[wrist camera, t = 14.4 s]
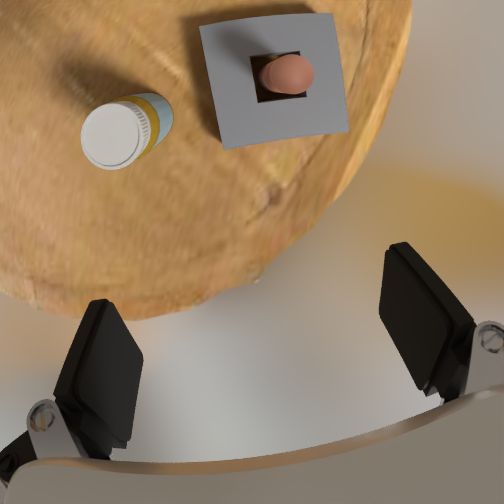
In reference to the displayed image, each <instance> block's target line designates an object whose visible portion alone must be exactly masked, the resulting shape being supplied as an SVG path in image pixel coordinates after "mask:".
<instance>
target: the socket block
mask: <svg viewBox="0 0 504 504" xmlns="http://www.w3.org/2000/svg"><path fill="white" fill-rule="evenodd" d="M199 30H200V35H201V40H202V45H203V50H204V55H205V60H206V65H207V70H208V75H209V80H210V85H211V90H212V95H213V100H214V105H215V110H216V115H217V120H218V125H219V130H220V135H221V140H222V144H223V149H224V150H227V149H232V148H238V147H243V146H248V145H254V144H260V143H266V142H272V141H278V140H285V139H292V138H299V137H307V136H315V135H323V134H332V133H342V132H349V126H348V115H347V105H346V96H345V88H344V80H343V72H342V65H341V58H340V52H339V45H338V39H337V34H336V28H335V23H334V17H333V13H306V14H285V15H271V16H261V17H252V18H244V19H237V20H231V21H225V22H219V23H213V24H208V25H203V26H199ZM285 54H295V55H299V56H301V57H303V58H305V59H306V60H307V61H308V62H309V63H310V64H311V66H312V68H313V71H314V79H313V82H312V84H311V86H310V87H309V88H308V89H307V90H306V91H304V92H302V93H299V96H293V97H285V98H277V99H269V100H263V101H257V96H256V90H255V85H254V79H253V73H252V68H251V62H250V59H251V58H259V57H266V56H275V55H285Z"/></svg>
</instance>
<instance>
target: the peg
mask: <svg viewBox="0 0 504 504" xmlns="http://www.w3.org/2000/svg"><path fill="white" fill-rule="evenodd" d="M257 78H258V82H259V84H260V86H261V87H262V88H264V89H265V90H267V91H271V92H280V93H287V94H299V93H302V92H304V91H306V90H307V89H308V88H309V87H310V86H311V84H312V82H313V79H314V71H313V68H312V66H311V64H310V63H309V62H308V61H307V60H306V59H305V58H303V57H301V56H299V55H295V54H289V55H285V56H282V57H280V58H278V59H276V60H274V61H272V62H270V63H268V64H266V65H264V66H262V67H261V68H260V70H259V72H258V75H257Z"/></svg>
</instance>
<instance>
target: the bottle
mask: <svg viewBox="0 0 504 504" xmlns="http://www.w3.org/2000/svg"><path fill="white" fill-rule="evenodd" d="M172 124H173V110H172V107H171V105H170V104H169V102H168V101H167V100H166V99H165V98H164V97H162V96H161V95H158V94H154V93H142V94H135V95H128V96H122V97H119V98H116V99H114V100H112V101H110V102H109V103H107V104H104V105H102V106H99V107H98V108H96V109H95V110H93V112H91V113H90V115H89V116H88V117H87V118H86V120H85V122H84V124H83V127H82V131H81V145H82V148H83V151H84V153H85V155H86V157H87V158H88V159H89V160H90V161H91V162H92V163H93V164H94V165H96V166H98V167H100V168H103V169H108V170H115V169H119V168H122V167H125V166H127V165H128V164H130V163H131V162H132V161H134V160H136V159H139V158H141V157H143V156H144V155H145V154H147V153H148V152H149V151H150V150H151V149H152V148H154V147H155V146H156V145H157V144H158V143H159V142H160V141H161V140H162V139H163V138H164V137H165V136H166V135H167V134H168V132H169V131H170V129H171V127H172Z"/></svg>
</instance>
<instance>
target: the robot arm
mask: <svg viewBox="0 0 504 504" xmlns="http://www.w3.org/2000/svg"><path fill="white" fill-rule="evenodd" d="M379 315H380V318H381V320H382V322H383V323H384V325H385V327H386V329H387V331H388V333H389V334H390V336H391V338H392V340H393V342H394V344H395V346H396V347H397V349H398V351H399V353H400V355H401V357H402V359H403V361H404V363H405V365H406V367H407V368H408V370H409V372H410V374H411V376H412V378H413V380H414V382H415V384H416V386H417V388H418V389H419V390H423V392H424V393H425V396H426V397H427V396H430V395H432V394H434V393H436V392H439V395H440V397H441V402H440V405H439V406H438V407H436V408H434V409H431V410H429V411H426V412H424V413H422V414H419V415H416V416H414V417H411V418H408V419H406V420H403V421H400V422H397V423H395V424H392V425H389V426H386V427H383V428H380V429H378V430H374V431H371V432H368V433H364V434H361V435H358V436H355V437H351V438H347V439H343V440H340V441H336V442H332V443H328V444H324V445H319V446H315V447H310V448H305V449H301V450H296V451H291V452H285V453H279V454H273V455H266V456H259V457H252V458H243V459H234V460H223V461H210V462H186V463H149V462H128V461H127V462H126V461H116V460H115V458H114V456H113V455H112V453H111V451H112V447H113V448H122V449H126V446H127V441H129V440H130V439H131V434H132V427H133V420H134V413H135V406H136V400H137V394H138V388H139V382H140V377H141V372H142V366H143V354H142V352H141V350H140V349H139V347H138V345H137V344H136V342H135V341H134V339H133V337H132V336H131V334H130V332H129V330H128V329H127V327H126V325H125V324H124V322H123V320H122V318H121V316H120V315H119V313H118V311H117V309H116V307H115V305H114V304H113V303H112V302H109V301H108V300H107V299H99V300H93V301H91V302H90V303H89V305H88V307H87V310H86V312H85V314H84V316H83V319H82V321H81V323H80V325H79V328H78V330H77V332H76V335H75V337H74V340H73V342H72V345H71V347H70V349H69V352H68V354H67V357H66V360H65V362H64V365H63V368H62V370H61V373H60V375H59V378H58V381H57V384H56V387H55V390H54V393H53V395H54V396H55V397H56V399H55V402H54V401H52V400H49V399H44V400H41V401H39V402H37V403H36V404H35V405H34V406H33V407H32V408H31V409H30V411H29V413H28V416H27V428H28V430H27V431H26V432H25V433H23V434H22V435H21V436H19V437H18V438H17V439H15V440H14V441H13V442H12V443H10V444H9V445H8V446H7V447H5V448H4V449H3V450H2V451H1V452H0V504H504V326H503V325H502V324H500V323H498V322H495V321H485V322H482V323H480V324H479V325H478V326H477V325H476V324H475V323H474V319H473V318H472V317H471V315H470V314H469V313H468V312H467V310H466V309H465V308H464V306H463V305H462V304H461V303H460V302H459V300H458V299H457V298H456V296H455V295H454V294H453V293H452V292H451V290H450V289H449V288H448V287H447V286H446V285H445V283H444V282H443V281H442V280H441V279H440V278H439V276H438V275H437V274H436V273H435V272H434V271H433V270H432V269H431V267H430V266H429V265H428V264H427V263H426V262H425V261H424V260H423V259H422V257H421V256H420V255H419V254H418V253H417V252H416V251H415V250H414V249H413V248H412V247H411V246H410V245H409V244H408V243H407V242H401V243H396V244H392V245H390V247H389V250H386V252H385V260H384V270H383V280H382V287H381V296H380V303H379Z"/></svg>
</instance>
